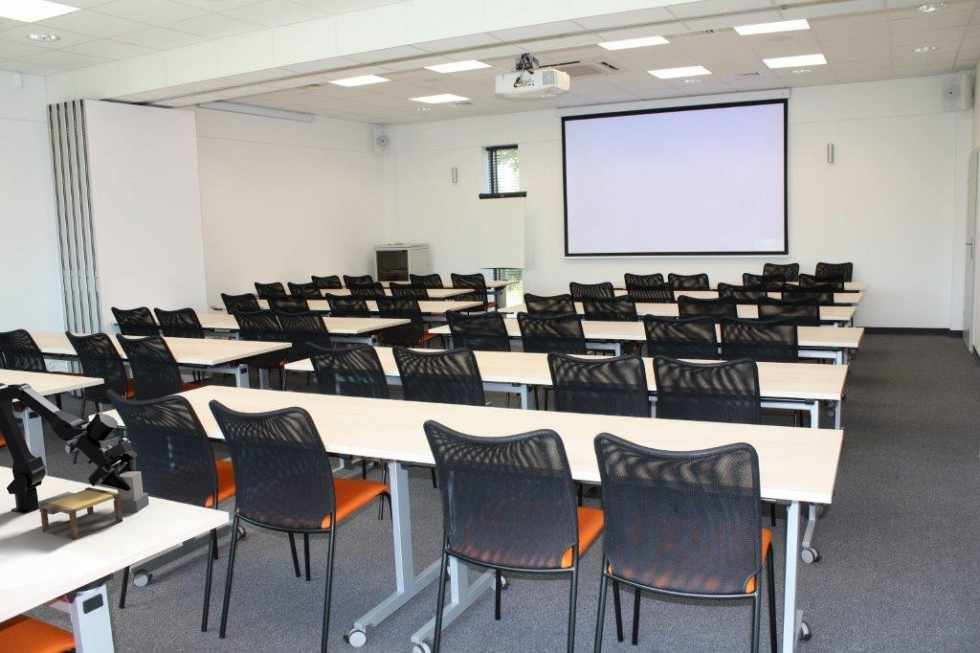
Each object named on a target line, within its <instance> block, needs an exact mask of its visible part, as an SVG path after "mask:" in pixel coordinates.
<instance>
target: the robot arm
mask: <svg viewBox="0 0 980 653" xmlns="http://www.w3.org/2000/svg"><path fill="white" fill-rule="evenodd" d="M13 400H17V401H19V402H21V403H22V404H23V405H25V407H27V408H28V409H30V410H31V411H33V413H35V414H36V415H38V416H39V417H41V419H43V420H44V421H46V423H47V424H49V426H50V428H51V430H52V432H53V433H54V434H55V436H57V437H58V438H59V439H60V440H62V441H64V442H67V441H71V440H73V439H75V438H77V437H78V438H77V439H76V440H75V441H72V442H69V445H70V446H69V447H70V448H69V452H70V453H74V452H77V451H79V452H80V453H81V454H83V456H84V457H86V458H87V460H88V461H87V463H88V464H89V465H90V466H91V465H94V466H96V468H95V470H94V471H93V472H92V473H91V474H90V476H89V477H88V478H87V479H88V483H89V485H90V486H92V488H95V486H97V485H99V484H100V485H101V486H103V485H104V486H108V487H112V488H116V489H117V488H119V489H122V490H126V491H129V490H130V489H131V488H130V487H129V485H128V484H127V483H126V482H125V481H124V480H123V479H122V478H121V477H120V474H122V473H124V472H136V470H135V468H134V466H133V465H134V464H133V462H134V461H135V458H136V457H137V456H138V453H137V452H135V451H134V450H132V449H133V448H132V440H129V439H128V438H127V437H123V438H121V439H119V440H118V441H117V442H118V443H117V444H116V445H115V446H112V445H111V444H107V445H105V444H104V443H103V442H104V441H106V440H107V439H108V438H109V437H110V435H111V434H112V433H114V430H116V429H117V428H118V427H119V426H118V424H119V422H118V421H117V419H115V417H114V416H110V415H109V414H106V413H103V412H102V411H99V412H97V413H96V414H95V415H94V417H93V418H92V420H91V421H87V420H83V419H82V418H80V417H79V416H77V415H76V414H75V415H74V414H72V413H69V412H66V411H63V410H62V409H60V408H58V407H57V406H56V405H54V403H52V402H51V401H50V400H48V399H47V398H45V397H44V396H43V395H42V394H40V393H39V392H37V391H36V390H35V389H34V388H33V387H32V385H30V384H29V383H25V382H24V383H19V384H17V383H16V384H15V383H13V384H5V383H3V382H0V433H1V436H2V438H3V440H4V442H5V445H6V448H7V449H8V452H9V454H10V456H11V458H12V469H11V472H12V476H13V480H12V481H11V482H10V483H9V484H8V485H7V487H6V490H7V492H8V495H14V499H15V500H14V501H15V507H14V508H11V509H10V510H11V512H14V513H19V514H23V515H24V514H27V513H30V512H34V511H37V510H39V503H38V501H39V496H38V490H37V487H39V486H42V483H43V480H44V479H45V476H46V474H47V472H46V469H47V466H46V465H45V464H44V461H43V458H42V456H40V455H39V456H37V457H36V456H35V455H34V454H32V453H31V451H30V448H29V447H28V445H27V442H26V439H25V437H24V435H23V432H22V430H21V428H20V426H19V423H18V421H17V419H16V417H15V415H14V412H13V409H12V408H13V402H14V401H13ZM84 433H85V434H84ZM102 441H103V442H102ZM100 481H101V482H100Z"/></svg>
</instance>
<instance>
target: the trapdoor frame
mask: <svg viewBox="0 0 980 653" xmlns="http://www.w3.org/2000/svg"><path fill="white" fill-rule="evenodd" d="M84 490H90V491H95V492H100V493H105V494H110V495H113V498H114V499H113V504H114V503H115V512H114V513H115V516H110V515H106V514H100V513H97V512H94V506H91V507H89V508H86V510H87V511H86V512H87V513H85V514H83V515H80V516H77V512H76V509H73V508H69V507H64V506H60V505H55V504H50V503H46V502H42V503H40V511H41V512H40V517H41V518H40V519H41V528H42V533H46V534H50V535H55V536H58V537H62V538H67V539H71V540H77V539H80V538H83V537H85V536H88V535H90V534H93V533H95V532H98V531H101V530H103V529H105V528H108V527H111V526H114V525H116V524H119V523H121V522H123V520H124V519H123V512H122V508H121V497H120V493H118V492H116V491H111V490H110V491H109V490H105V489H100V488H95V487H90V486H88V487H85V488H84ZM47 509H49V510H53V511H58V512H59V513H64V514H66V515H69V516H68V517H69V519H68V520H65V521H63V522H60V523H57V524H55V525H52V526H50V523H49V521H50V520H49V514H48V512H47Z"/></svg>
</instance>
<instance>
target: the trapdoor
mask: <svg viewBox="0 0 980 653" xmlns="http://www.w3.org/2000/svg"><path fill="white" fill-rule="evenodd" d="M111 500H114V498H113V495H110V494H105V493H100V492H95V491H90V490H85V489H83V490H81V491H77V492H69V491H67V492H63V493H60V494H57V495H54V496H51V497H47V498H45V499H41V500H38V503H39V509H38V510H39V512H40V513H41V511H40V503H42V502H46V503H50V504H55V505H60V506H64V507H69V508H73V509H76V513H77V512H80V511H83V510H85V509H86V510H87V508H89V507H91V506H93V507H94V506H97V505H100V504H103V503H105V502H107V501H108V502H109V501H111ZM47 512H48V515H52V516H53V515H55V514H58V513H60V512H58V511H53V510H49V509H47Z"/></svg>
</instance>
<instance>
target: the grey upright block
mask: <svg viewBox="0 0 980 653" xmlns="http://www.w3.org/2000/svg"><path fill="white" fill-rule="evenodd" d="M120 477H121V478H122V479H123V480H124V481H125V482H126V483H127V484H128V485H129V487H130V488H131V489H130V490H129V491H126V490H122V489H119V488H116V489H117V493H120V497H121V500H135V499H136V498H138V497H139V496H141V495H142V494H143V493H144V488H143V487H144V486H143V479H142V471H140V470H139V471H136V470H135V472H124V473H122V474H120Z"/></svg>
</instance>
